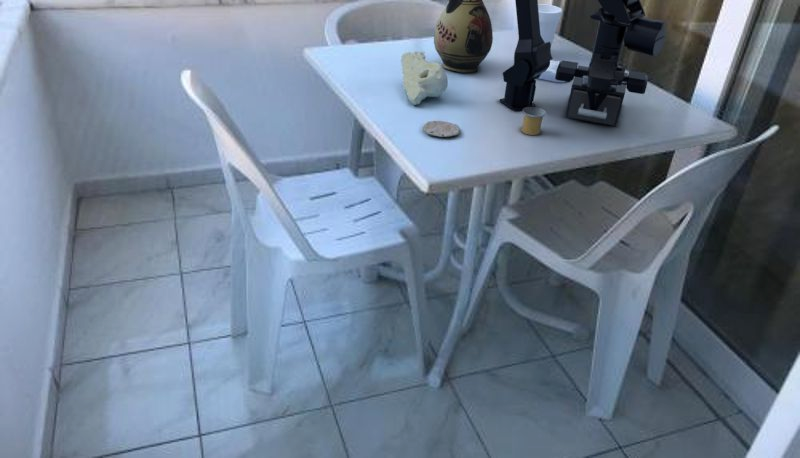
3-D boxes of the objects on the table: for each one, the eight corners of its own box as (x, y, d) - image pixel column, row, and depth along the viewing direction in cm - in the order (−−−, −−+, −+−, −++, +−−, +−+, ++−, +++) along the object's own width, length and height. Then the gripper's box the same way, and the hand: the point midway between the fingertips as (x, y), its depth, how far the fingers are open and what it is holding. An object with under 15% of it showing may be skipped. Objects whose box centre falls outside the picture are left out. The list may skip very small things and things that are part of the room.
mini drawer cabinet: (616, 126, 146) (625, 93, 142) (565, 117, 149) (572, 84, 145) (619, 105, 157) (628, 73, 153) (572, 96, 160) (578, 65, 155)
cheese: (444, 118, 150) (466, 64, 154) (427, 100, 145) (450, 45, 149) (396, 117, 160) (418, 67, 164) (379, 101, 155) (401, 49, 159)
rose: (546, 68, 163) (528, 55, 171) (543, 84, 166) (525, 71, 173) (580, 65, 166) (560, 53, 174) (576, 82, 169) (557, 69, 176)
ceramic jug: (473, 55, 182) (486, -59, 165) (498, 74, 170) (515, -46, 153) (417, 59, 177) (425, -58, 160) (439, 79, 165) (450, -45, 148)
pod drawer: (612, 134, 141) (619, 107, 137) (564, 125, 143) (570, 98, 140) (617, 105, 155) (623, 80, 151) (573, 97, 157) (579, 73, 154)
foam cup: (555, 60, 182) (564, 14, 175) (523, 58, 182) (531, 12, 175) (549, 49, 190) (558, 4, 183) (518, 47, 190) (525, 2, 182)
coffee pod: (528, 137, 139) (532, 117, 136) (514, 128, 143) (518, 108, 140) (546, 134, 141) (550, 113, 138) (532, 125, 145) (536, 105, 142)
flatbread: (418, 134, 137) (418, 130, 137) (429, 120, 143) (429, 116, 143) (454, 141, 135) (455, 137, 135) (464, 128, 141) (464, 123, 141)
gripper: (558, 48, 129) (545, 120, 138) (655, 63, 125) (634, 136, 134) (565, 33, 138) (552, 101, 147) (655, 46, 134) (636, 116, 142)
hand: (592, 113), depth 142 cm, fingers closed
